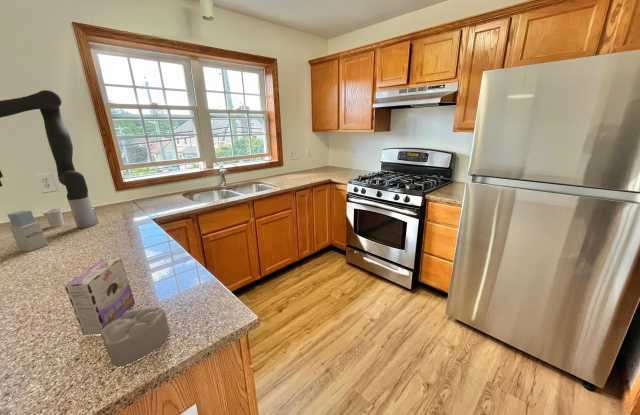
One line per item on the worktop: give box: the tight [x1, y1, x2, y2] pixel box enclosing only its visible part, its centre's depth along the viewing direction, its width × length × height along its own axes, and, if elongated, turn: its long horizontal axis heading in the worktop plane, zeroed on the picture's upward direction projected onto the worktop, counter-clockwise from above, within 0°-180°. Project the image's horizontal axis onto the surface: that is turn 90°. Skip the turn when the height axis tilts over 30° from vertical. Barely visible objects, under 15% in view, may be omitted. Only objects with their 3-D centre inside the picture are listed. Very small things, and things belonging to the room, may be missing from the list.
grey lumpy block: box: [100, 306, 171, 367], centre depth 66 cm, size 10×13×9 cm
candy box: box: [64, 257, 136, 336], centre depth 75 cm, size 14×6×16 cm, turn 5°
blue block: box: [7, 210, 36, 227], centre depth 125 cm, size 6×6×6 cm
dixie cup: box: [42, 208, 65, 229], centre depth 159 cm, size 8×8×10 cm
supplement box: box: [9, 221, 48, 252], centre depth 128 cm, size 7×7×13 cm
